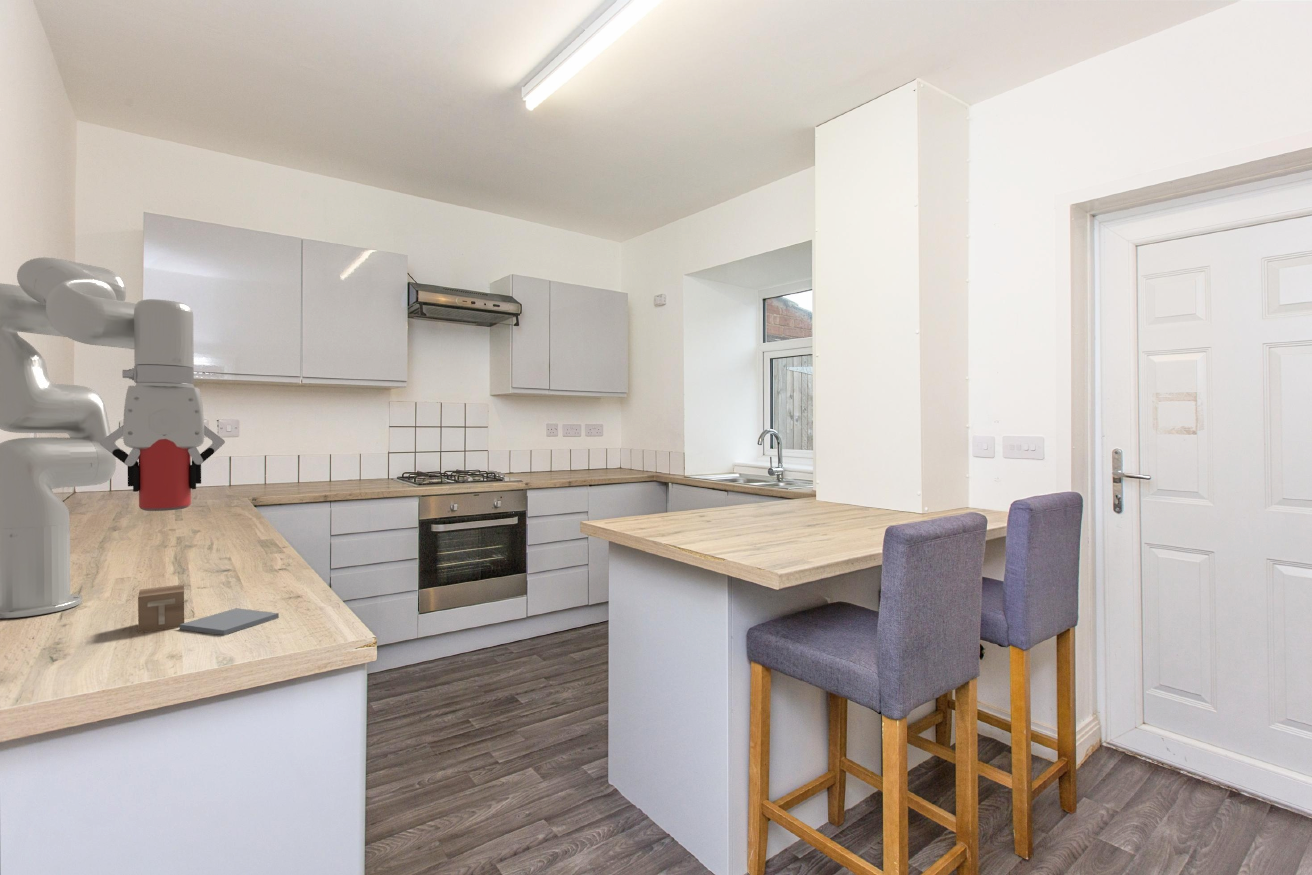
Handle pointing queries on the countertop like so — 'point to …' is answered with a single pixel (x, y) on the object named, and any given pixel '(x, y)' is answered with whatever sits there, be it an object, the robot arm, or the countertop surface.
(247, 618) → the grey mat
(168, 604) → the letter block
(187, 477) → the beer can
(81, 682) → the countertop surface
